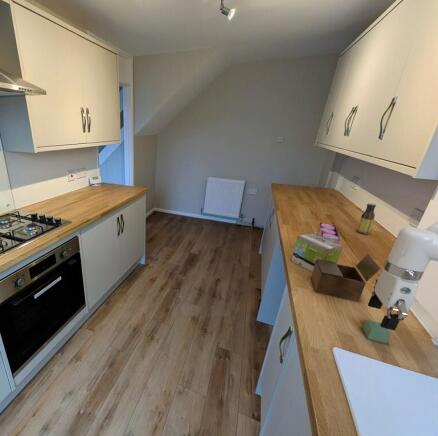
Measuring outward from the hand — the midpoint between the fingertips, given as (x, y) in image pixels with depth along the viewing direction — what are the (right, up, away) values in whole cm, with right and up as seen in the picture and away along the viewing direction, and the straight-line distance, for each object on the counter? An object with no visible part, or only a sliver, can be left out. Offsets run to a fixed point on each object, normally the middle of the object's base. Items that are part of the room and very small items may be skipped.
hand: (380, 317), depth 74 cm
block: (0, -8, +3) cm, 8 cm away
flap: (+12, +12, +18) cm, 25 cm away
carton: (+5, +1, +25) cm, 26 cm away
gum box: (+23, +12, +56) cm, 62 cm away
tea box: (+8, +7, +42) cm, 43 cm away
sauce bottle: (+69, +21, +82) cm, 110 cm away
